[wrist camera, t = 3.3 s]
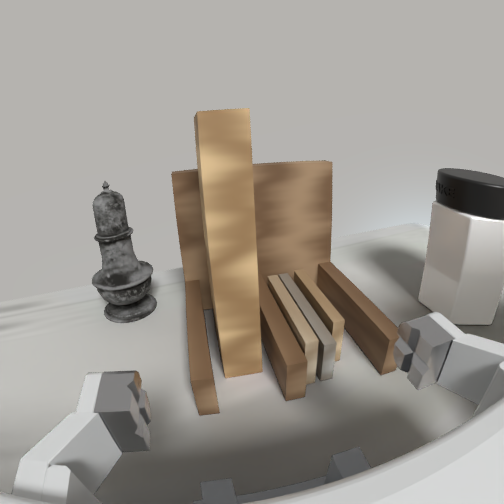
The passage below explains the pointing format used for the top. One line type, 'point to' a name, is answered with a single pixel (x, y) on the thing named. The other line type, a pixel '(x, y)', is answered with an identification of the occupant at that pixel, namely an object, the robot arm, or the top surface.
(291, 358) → the walnut rack
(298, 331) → the offcut boards
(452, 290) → the jar
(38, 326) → the top surface
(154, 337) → the top surface
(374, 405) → the top surface
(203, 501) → the slate holder
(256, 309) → the wooden block
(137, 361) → the top surface
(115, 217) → the salt shaker
